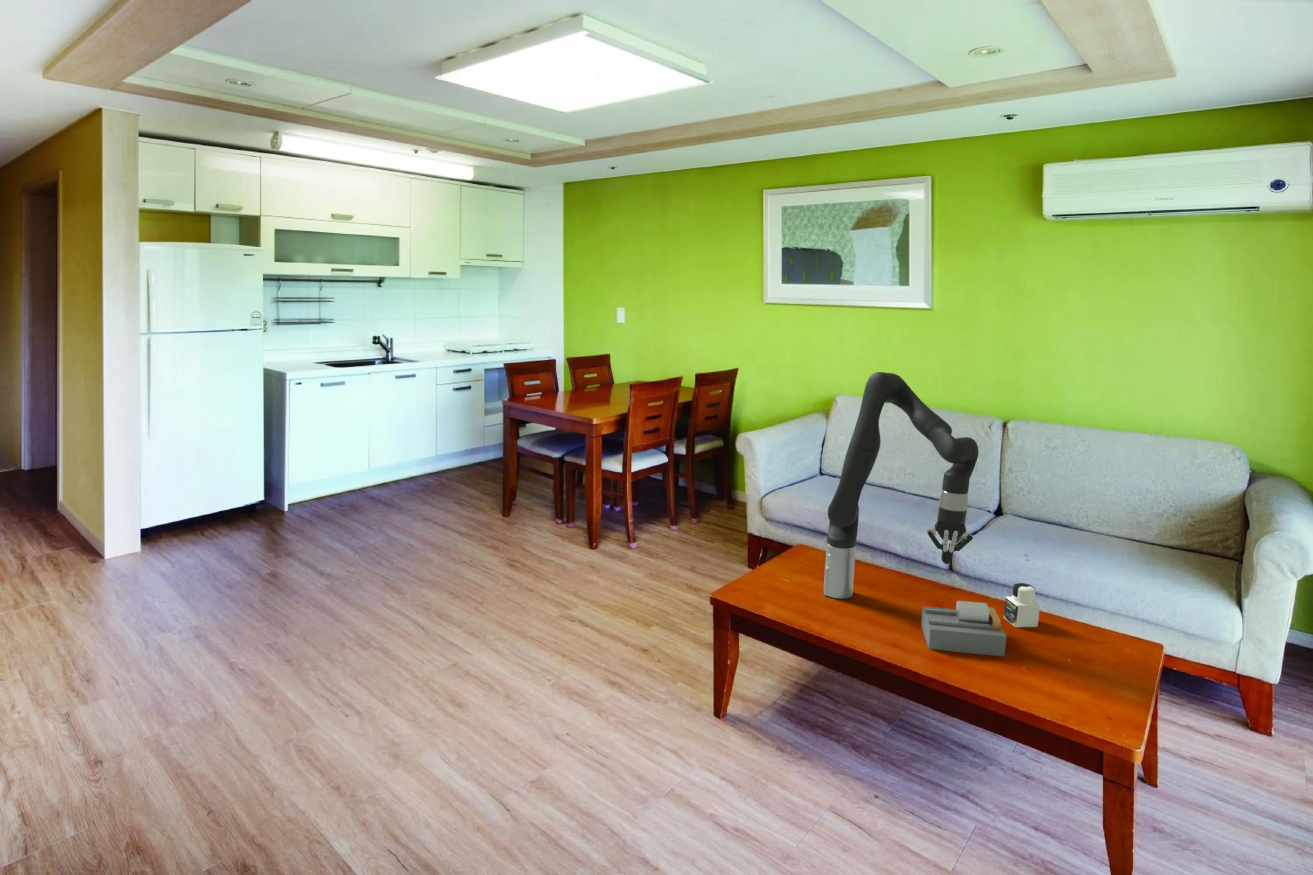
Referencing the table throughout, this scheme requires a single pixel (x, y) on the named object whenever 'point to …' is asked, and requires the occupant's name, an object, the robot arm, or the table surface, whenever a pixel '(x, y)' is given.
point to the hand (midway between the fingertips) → (946, 563)
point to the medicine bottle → (1022, 606)
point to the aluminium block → (972, 612)
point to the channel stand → (962, 633)
